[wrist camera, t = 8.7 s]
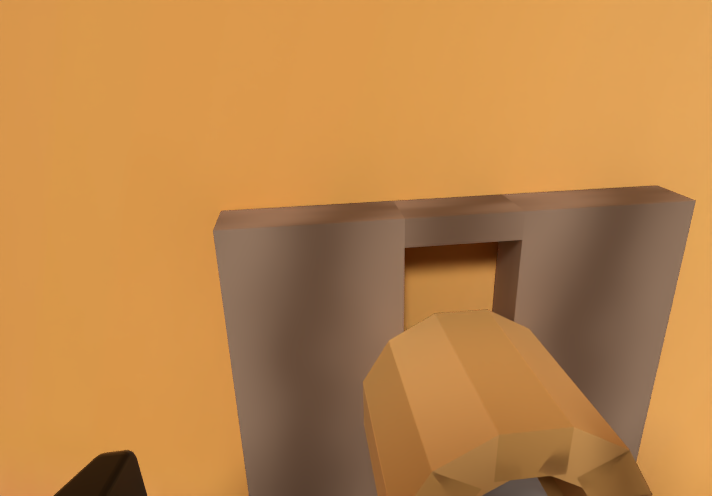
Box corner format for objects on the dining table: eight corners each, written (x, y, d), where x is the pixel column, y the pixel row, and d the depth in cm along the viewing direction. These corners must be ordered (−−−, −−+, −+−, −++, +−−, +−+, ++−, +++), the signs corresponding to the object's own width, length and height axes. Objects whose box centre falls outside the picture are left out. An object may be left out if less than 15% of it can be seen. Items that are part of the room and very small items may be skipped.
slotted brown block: (657, 185, 19) (906, 283, 12) (600, 472, 25) (745, 674, 17) (221, 211, 18) (166, 344, 10) (259, 511, 23) (243, 754, 15)
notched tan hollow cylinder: (557, 303, 18) (672, 416, 13) (535, 457, 21) (624, 605, 15) (361, 319, 18) (393, 445, 12) (364, 476, 20) (392, 638, 15)
